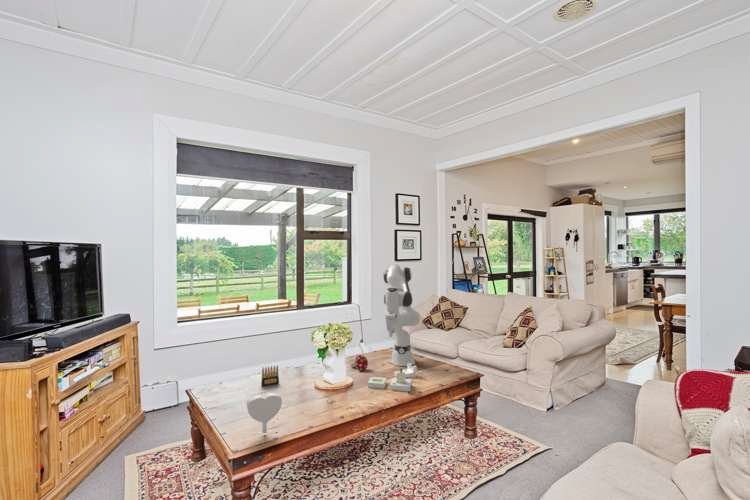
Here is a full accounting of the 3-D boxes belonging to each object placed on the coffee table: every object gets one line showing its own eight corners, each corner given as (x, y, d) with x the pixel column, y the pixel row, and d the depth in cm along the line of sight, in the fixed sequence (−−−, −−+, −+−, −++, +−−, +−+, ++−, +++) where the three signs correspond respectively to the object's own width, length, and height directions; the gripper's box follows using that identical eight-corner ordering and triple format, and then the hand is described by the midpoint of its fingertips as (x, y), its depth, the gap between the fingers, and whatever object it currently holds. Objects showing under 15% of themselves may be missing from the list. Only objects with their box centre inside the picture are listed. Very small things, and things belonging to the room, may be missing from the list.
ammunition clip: (261, 386, 235) (261, 367, 235) (261, 385, 237) (261, 366, 237) (279, 383, 240) (279, 365, 240) (278, 382, 242) (278, 364, 242)
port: (392, 384, 240) (392, 377, 240) (411, 385, 238) (411, 378, 238) (389, 391, 229) (390, 383, 229) (409, 393, 226) (409, 385, 226)
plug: (397, 385, 235) (397, 367, 235) (405, 386, 234) (405, 368, 234) (396, 387, 232) (396, 369, 232) (404, 388, 231) (404, 369, 231)
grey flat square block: (371, 383, 242) (371, 376, 242) (386, 384, 240) (386, 378, 240) (367, 388, 232) (367, 382, 232) (383, 390, 230) (383, 383, 230)
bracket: (410, 373, 260) (410, 363, 260) (416, 377, 254) (416, 365, 254) (394, 377, 254) (394, 366, 254) (400, 380, 248) (400, 369, 247)
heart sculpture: (279, 427, 184) (279, 390, 184) (282, 432, 179) (282, 394, 179) (246, 434, 177) (246, 396, 177) (248, 439, 173) (247, 400, 172)
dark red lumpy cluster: (347, 354, 275) (360, 351, 264) (359, 360, 280) (372, 357, 269) (344, 369, 268) (357, 366, 258) (355, 375, 273) (369, 372, 263)
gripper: (389, 310, 252) (389, 330, 253) (384, 316, 232) (384, 338, 233) (399, 310, 251) (399, 331, 251) (394, 316, 231) (394, 339, 231)
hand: (392, 334), depth 242 cm, fingers open, 8 cm apart
